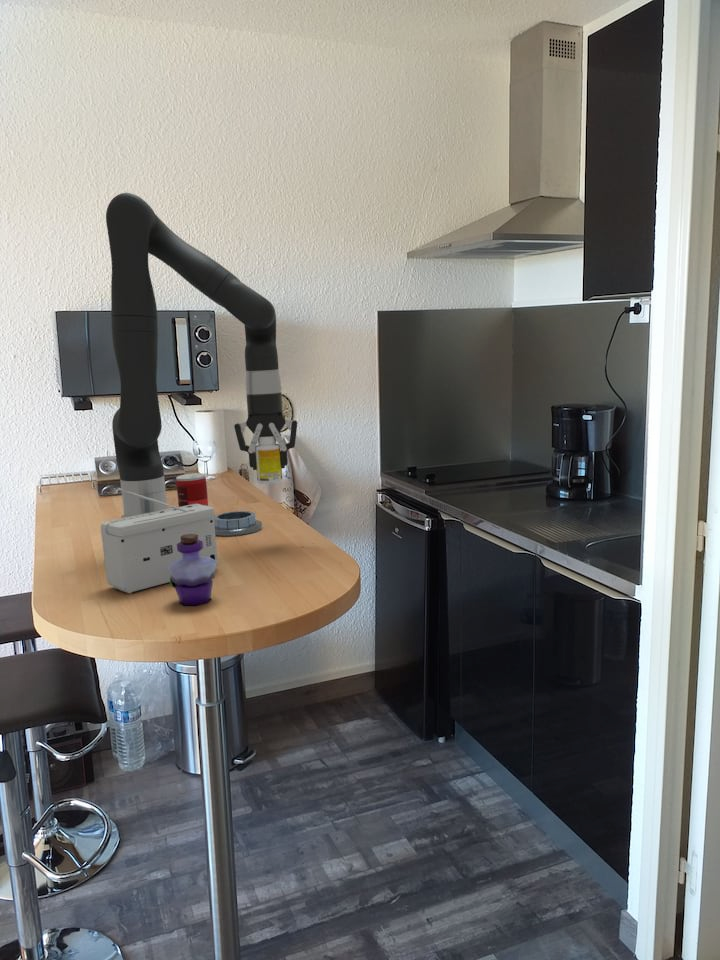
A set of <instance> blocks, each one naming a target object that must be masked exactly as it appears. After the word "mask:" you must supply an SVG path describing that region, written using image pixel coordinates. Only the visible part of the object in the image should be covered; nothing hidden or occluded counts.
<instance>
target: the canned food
mask: <svg viewBox="0 0 720 960" xmlns="http://www.w3.org/2000/svg"><path fill="white" fill-rule="evenodd" d="M175 482H176V493H177V504H178V507H182V506H187V505H192V504H200V505H204V506H205V505H206V506H209V499H208V487H207V477H206V474H205V473H187V474H182V475H177V476H176V477H175Z"/></svg>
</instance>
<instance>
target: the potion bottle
mask: <svg viewBox="0 0 720 960" xmlns="http://www.w3.org/2000/svg"><path fill="white" fill-rule="evenodd" d="M202 549H203V541H201V540H198V535H196V534H185V535H183V536H181V542H179V543H178V544H177V551H178V552H180V553H182V557H183V558H182V559H179V560H176V561H173V562H172V563H171V564H169V565H168V566H166V567H167V570H168V572H169V575H170V582H169V583H170V585H171V586H172V587H173V588H174V589H175V591H176V594H177V596H178V601H179V604H180V605H181V606H183V607H199V606H201V605H202V606H203V605H206V604H208V603H209V602H210V601H211V600H212V598H211V597H212V590H213V583H214V582H213V581H214V580H213V579H215V577H216V571H217V570H216V569H217V566H216V563H217V561H216V560H214V559H212V558H210V557H200V554H199V551H200V550H202Z"/></svg>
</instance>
